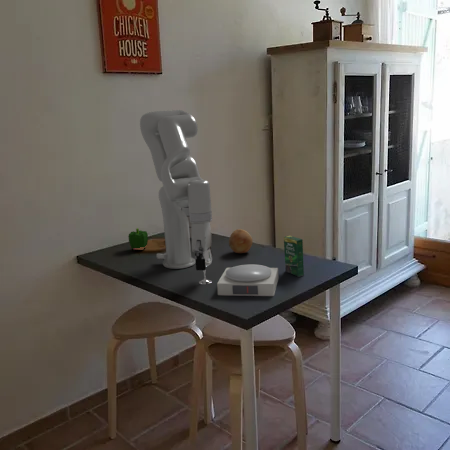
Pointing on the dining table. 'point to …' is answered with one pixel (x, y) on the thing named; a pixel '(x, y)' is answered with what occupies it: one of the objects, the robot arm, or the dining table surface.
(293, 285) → the dining table surface
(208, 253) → the wineglass
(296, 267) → the coffee box
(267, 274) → the kitchen scale
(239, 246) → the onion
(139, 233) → the bell pepper
